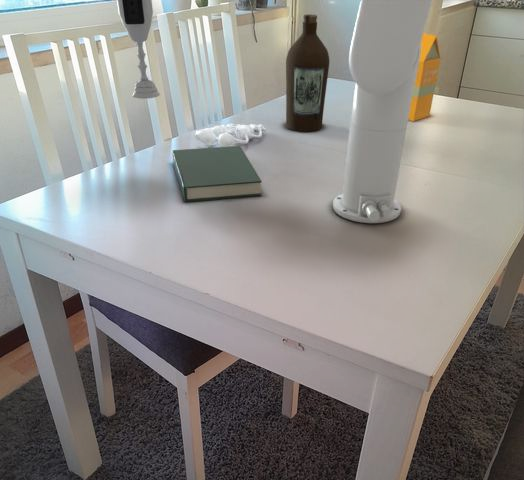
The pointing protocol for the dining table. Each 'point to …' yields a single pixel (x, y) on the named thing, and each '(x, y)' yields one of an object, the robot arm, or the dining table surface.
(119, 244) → the dining table surface
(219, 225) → the dining table surface
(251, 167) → the book
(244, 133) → the tangled rod sculpture
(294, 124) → the olive oil
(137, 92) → the chalice
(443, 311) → the dining table surface
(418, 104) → the orange juice
